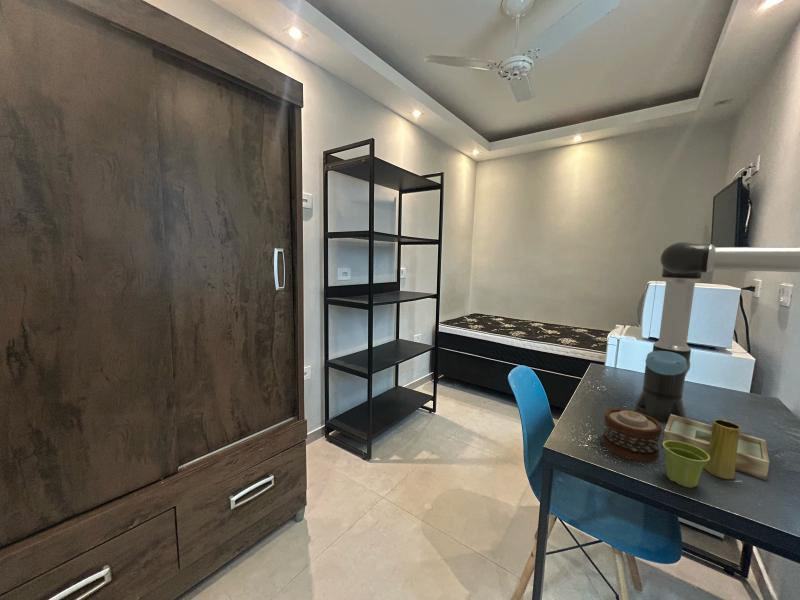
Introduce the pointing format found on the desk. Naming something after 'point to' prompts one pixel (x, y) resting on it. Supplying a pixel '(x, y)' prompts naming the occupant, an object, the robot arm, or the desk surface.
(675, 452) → the plant pot
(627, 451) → the spiked roller
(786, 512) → the desk surface
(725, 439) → the vase
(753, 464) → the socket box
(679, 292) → the robot arm
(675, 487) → the desk surface
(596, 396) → the desk surface
